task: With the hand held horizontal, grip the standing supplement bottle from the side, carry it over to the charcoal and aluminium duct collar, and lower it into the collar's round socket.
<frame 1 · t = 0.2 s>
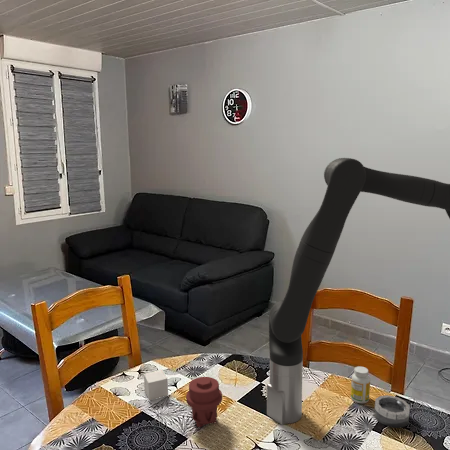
supplement bottle: (359, 399, 128), on the table
mechanical component: (204, 421, 119), on the table
grey cube: (156, 394, 133), on the table
duct collar: (391, 417, 119), on the table
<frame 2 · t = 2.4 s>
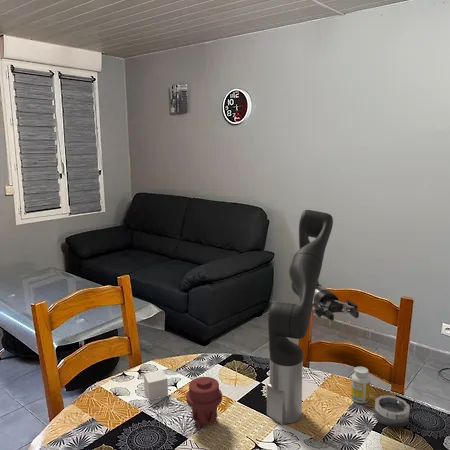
hand: (345, 316, 135), 22 cm above the table, tool horizontal, fingers open, 8 cm apart
nothing on the table moved.
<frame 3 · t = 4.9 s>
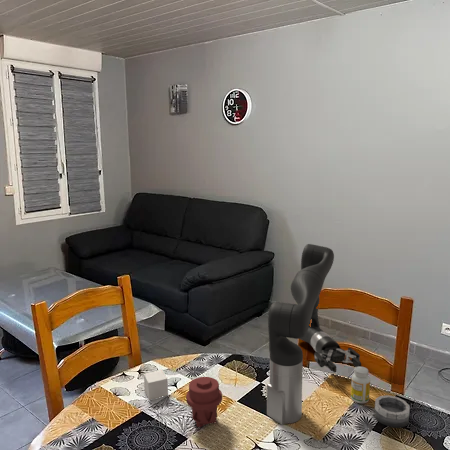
hand: (347, 368, 135), 6 cm above the table, tool horizontal, fingers open, 8 cm apart
nothing on the table moved.
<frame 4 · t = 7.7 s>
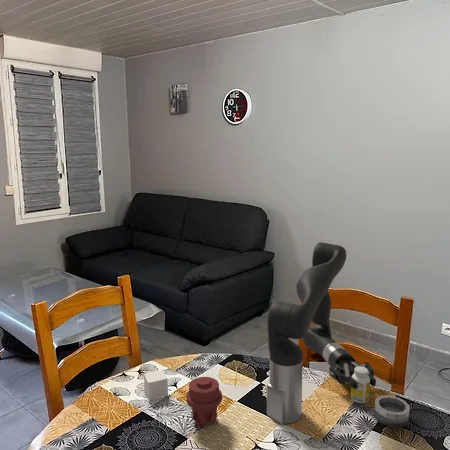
hand: (365, 384, 125), 6 cm above the table, tool horizontal, fingers closed on supplement bottle, 5 cm apart
supplement bottle: (359, 399, 128), on the table, touching gripper
everything else where it was.
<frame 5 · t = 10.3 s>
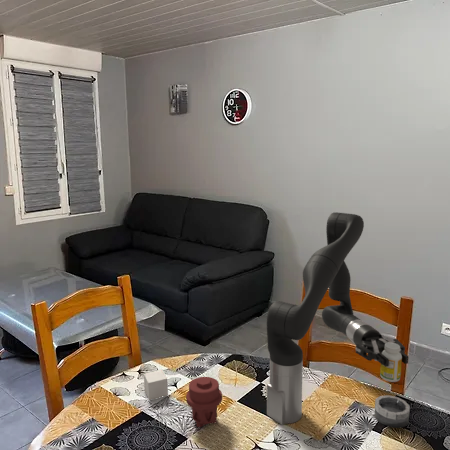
hand: (397, 361, 115), 18 cm above the table, tool horizontal, fingers closed on supplement bottle, 5 cm apart
supplement bottle: (390, 378, 118), point 11 cm above the table, touching gripper
everything else where it was.
when the fingers open (9 cm above the table, at t = 13.3 s): supplement bottle stays where it is, resting on duct collar.
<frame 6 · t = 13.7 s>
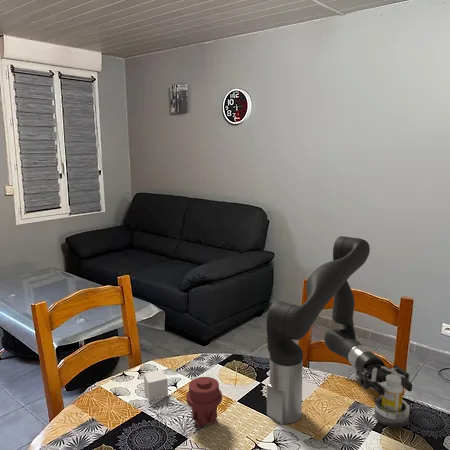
hand: (397, 390, 116), 10 cm above the table, tool horizontal, fingers open, 8 cm apart
supplement bottle: (391, 409, 119), point 2 cm above the table, touching duct collar
everything else where it was.
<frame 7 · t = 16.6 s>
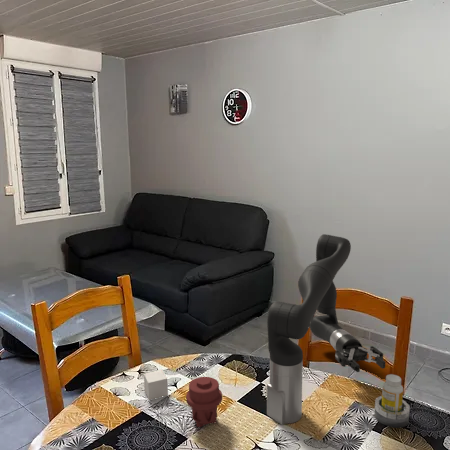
hand: (371, 367, 128), 10 cm above the table, tool horizontal, fingers open, 8 cm apart
nothing on the table moved.
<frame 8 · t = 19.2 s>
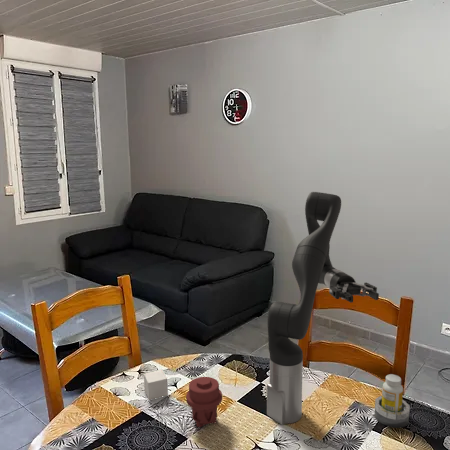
hand: (364, 298, 129), 30 cm above the table, tool horizontal, fingers open, 8 cm apart
nothing on the table moved.
at the end: supplement bottle 0.1 cm off-centre on the duct collar, point 2.3 cm above the duct collar's base; supplement bottle tilted 0°; the gripper is holding nothing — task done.
